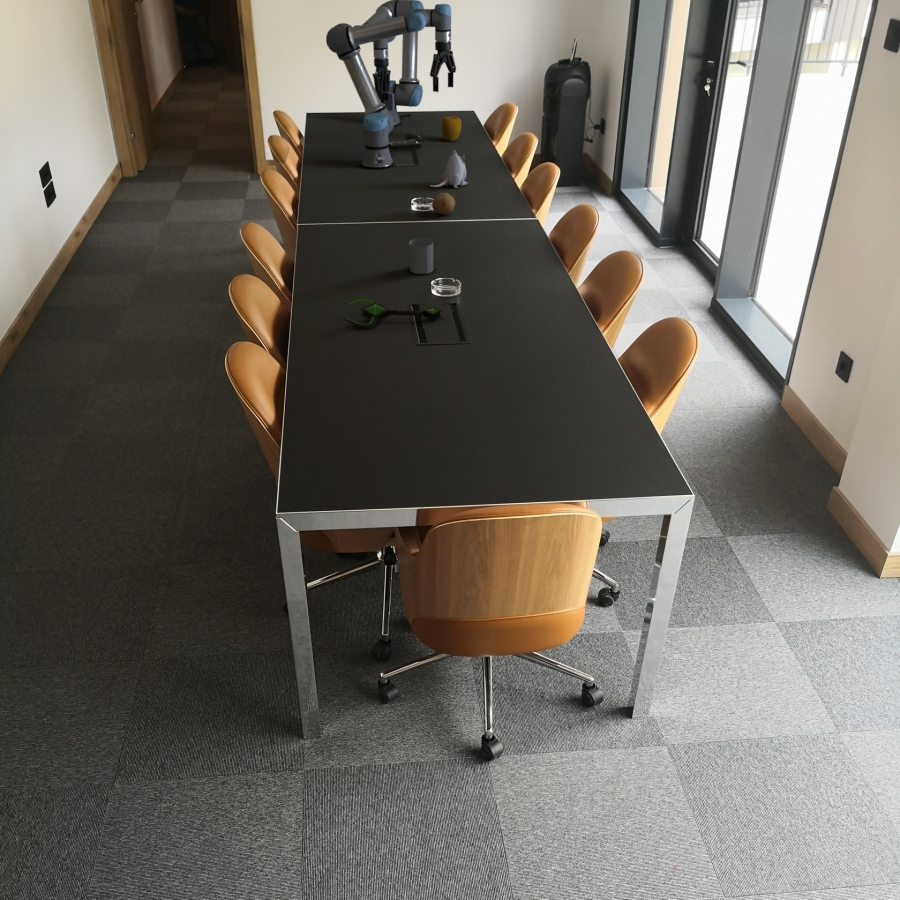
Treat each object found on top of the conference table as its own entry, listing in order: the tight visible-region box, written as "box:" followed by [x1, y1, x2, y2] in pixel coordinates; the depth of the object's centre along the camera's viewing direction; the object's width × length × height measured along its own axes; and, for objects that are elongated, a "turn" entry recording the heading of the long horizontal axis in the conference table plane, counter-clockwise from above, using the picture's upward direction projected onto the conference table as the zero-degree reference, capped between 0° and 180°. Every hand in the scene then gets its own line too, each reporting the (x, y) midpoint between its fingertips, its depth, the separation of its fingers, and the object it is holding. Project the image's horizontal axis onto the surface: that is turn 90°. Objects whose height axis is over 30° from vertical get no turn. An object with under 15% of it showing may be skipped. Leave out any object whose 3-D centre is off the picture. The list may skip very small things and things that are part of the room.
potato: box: [431, 192, 456, 216], centre depth 360 cm, size 10×14×8 cm
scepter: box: [344, 296, 443, 329], centre depth 270 cm, size 6×13×30 cm
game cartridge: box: [377, 92, 395, 111], centre depth 457 cm, size 14×3×9 cm, turn 58°
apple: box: [441, 115, 462, 142], centre depth 467 cm, size 11×11×13 cm
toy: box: [428, 149, 468, 189], centre depth 390 cm, size 9×24×15 cm, turn 137°
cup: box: [408, 237, 434, 275], centre depth 305 cm, size 8×8×10 cm
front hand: (443, 89), depth 418 cm, fingers open, 13 cm apart
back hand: (383, 106), depth 458 cm, fingers closed on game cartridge, 2 cm apart
